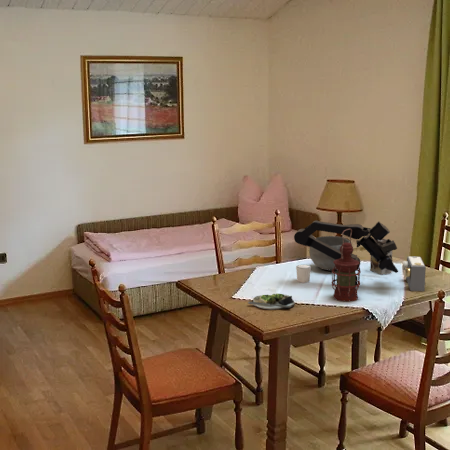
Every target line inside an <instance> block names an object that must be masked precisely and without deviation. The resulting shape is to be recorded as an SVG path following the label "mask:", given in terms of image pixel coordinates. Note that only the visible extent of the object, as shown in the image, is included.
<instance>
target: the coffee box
mask: <svg viewBox="0 0 450 450" xmlns="http://www.w3.org/2000/svg"><path fill="white" fill-rule="evenodd" d="M373 239H374V238H373ZM374 240H375V239H374ZM386 240H387V239H386V238H383V239H382V240H381V241H380V240H377V241H376V240H375V241H376V242H377V243H378V244H381V245H384V244H386ZM387 255H388V256H390V255H391V256H392V257H393V250H392V251H390V253H388V254H387ZM379 262H380V261H379ZM379 262H377V261H376V259H375V258H374V257H373V256H371V255H370V269H369V270H370V271H371V272H373V273H374V274H375V273H376V274H378V275H381V276H383V274H385V275H391V274H392V271H390V270H388V269H385V268H384V269H383V270H381V269H380V268H379ZM390 273H391V274H390Z"/></svg>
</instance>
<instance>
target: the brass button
mask: <svg viewBox="0 0 450 450" xmlns="http://www.w3.org/2000/svg"><path fill="white" fill-rule="evenodd" d="M404 271H405V272H404V275H405V278H406V277H411V268H405V270H404Z"/></svg>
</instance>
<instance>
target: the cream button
mask: <svg viewBox="0 0 450 450" xmlns="http://www.w3.org/2000/svg"><path fill="white" fill-rule="evenodd" d="M405 268H408V261H407V260H402V270H404V271H405Z"/></svg>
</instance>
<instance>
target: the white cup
mask: <svg viewBox="0 0 450 450" xmlns="http://www.w3.org/2000/svg"><path fill="white" fill-rule="evenodd" d="M295 269H296V280H297V282H298V283H303V284H304V283H309V282H310V281H311V279H310V278H311V272H312V271H311V269H312V266H311V265H308V264H298V265H296V267H295Z"/></svg>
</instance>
